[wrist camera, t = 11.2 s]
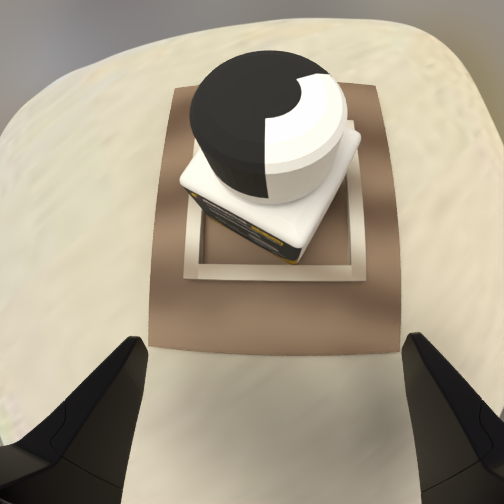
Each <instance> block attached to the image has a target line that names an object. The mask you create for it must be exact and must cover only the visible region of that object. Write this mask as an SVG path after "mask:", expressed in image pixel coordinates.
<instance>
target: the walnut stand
mask: <svg viewBox="0 0 504 504" xmlns="http://www.w3.org/2000/svg"><path fill="white" fill-rule="evenodd" d="M337 83H338V84H339V86H340V88H341V90H342V91H343V94H344V96H345V99H346V104H347V122H346V126H348V127H350V128H351V129H353V130H355V131H357V132H359V133H360V135H361V141H360V144H359V146H358V148H357V150H356V153H355V155H354V157H353V159H352V162H351V164H350V166H349V168H348V170H347V173H346V175H345V177H344V179H343V181H342V183H341V185H340V187H339V189H338V191H337V193H336V195H335V197H334V199H333V200H332V202H331V204H330V206H329V208H328V210H327V212H326V213H325V215H324V217H323V219H322V221H321V223H320V224H319V226H318V228H317V230H316V232H315V234H314V235H313V237H312V239H311V241H310V243H309V244H308V246H307V248H306V250H305V251H304V253H303V255H302V257H301V259H300V260H299V262H298V263H297V264H296V265H291V264H289V263H288V262H286V261H284V260H282V259H280V258H279V257H277V256H275V255H273V254H272V253H270V252H268V251H266V250H265V249H263V248H261V247H259V246H258V245H256V244H254V243H252V242H251V241H249V240H247V239H245V238H244V237H242V236H240V235H238V234H236V233H235V232H233V231H231V230H229V229H228V228H226V227H224V226H222V225H220V224H219V223H217V222H215V221H213V220H212V219H210V218H209V217H208V216H207V214H206V213H205V212H204V211H203V210H202V209H201V207H200V206H199V205H198V204H197V203H196V202H195V200H194V199H193V198H192V197H191V196H190V194H189V193H188V192H187V191H186V190H185V189H184V187H183V186H182V185H181V184H180V176H181V175H182V173H183V172H184V170H185V169H186V167H187V166H188V164H189V163H190V161H191V160H192V159H193V157H194V156H195V154H196V153H197V151H198V150H199V148H200V146H199V144H198V142H197V141H196V139H195V137H194V135H193V132H192V129H191V126H190V119H189V113H190V105H191V101H192V98H193V96H194V94H195V92H196V90H197V88H198V87H199V85H197V86H189V87H181V88H175V90H174V95H173V100H172V105H171V110H170V115H169V121H168V126H167V132H166V138H165V144H164V151H163V157H162V164H161V171H160V178H159V186H158V194H157V203H156V212H155V222H154V233H153V245H152V258H151V274H150V294H149V336H148V346H152V347H160V348H169V349H179V350H189V351H201V352H214V353H229V354H249V355H285V356H319V355H354V354H374V353H389V352H399V348H400V326H401V267H400V245H399V230H398V218H397V208H396V198H395V190H394V182H393V174H392V167H391V161H390V154H389V148H388V143H387V137H386V132H385V127H384V122H383V117H382V112H381V108H380V103H379V99H378V95H377V91H376V87H375V86H373V85H363V84H353V83H341V82H337Z"/></svg>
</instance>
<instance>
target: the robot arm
mask: <svg viewBox="0 0 504 504" xmlns="http://www.w3.org/2000/svg"><path fill="white" fill-rule="evenodd" d="M402 361H403V370H404V379H405V389H406V396H407V401H408V406H409V412H410V417H411V423H412V428H413V434H414V441H415V447H416V454H417V461H418V469H419V478H420V488H421V492H422V493H421V501H422V504H504V422H503V421H502V420H501V419H500V418H499V417H498V416H497V415H496V414H495V413H494V412H493V411H492V410H491V408H490V407H489V406H488V405H487V404H486V403H485V402H484V400H482V398H481V397H480V396H479V395H478V394H477V393H476V391H475V390H474V389H473V388H472V387H471V386H470V385H469V384H468V382H467V381H466V380H465V379H464V378H463V377H462V376H461V375H460V374H459V372H458V371H457V370H456V369H455V368H454V367H453V366H452V365H451V364H450V363H449V362H448V361H447V360H446V358H445V357H444V356H443V355H442V354H441V353H440V352H439V351H438V350H437V349H436V348H435V347H434V346H433V345H432V344H431V343H430V342H429V341H428V340H427V338H426V337H425V336H424V335H423V334H422V333H420V332H415V333H409V334H408V336H407V338H406V340H405V343H404V345H403V347H402ZM147 362H148V351H147V348H146V347H145V345H144V343H143V341H142V339H141V338H140V337H138V336H129V337H127V338H126V339H125V340H124V341H123V342H122V343H121V344H120V345H119V346H118V347H117V348H116V349H115V350H114V351H113V352H112V353H111V354H110V355H109V356H108V357H107V358H106V359H105V360H104V361H103V362H102V363H101V364H100V365H99V366H98V367H97V368H96V369H95V370H94V371H93V372H92V373H91V374H90V375H89V376H88V377H87V378H86V379H85V380H84V381H83V382H82V383H81V384H80V385H79V386H78V387H77V388H76V389H75V390H74V391H73V392H72V393H71V394H70V395H69V396H68V397H67V398H66V399H65V401H63V402H62V403H61V404H60V405H59V406H58V407H57V408H56V409H55V410H54V411H53V412H52V413H51V414H50V415H49V416H48V417H47V418H45V419H44V420H43V421H42V422H41V423H40V424H39V425H37V426H36V427H35V428H34V429H33V430H31V431H30V432H29V433H28V434H27V435H25V436H24V437H23V438H22V439H20V440H19V441H17V442H15V443H13V444H10V445H6V446H0V504H121V498H122V493H123V486H124V481H125V475H126V470H127V465H128V460H129V455H130V450H131V445H132V441H133V436H134V431H135V427H136V423H137V418H138V414H139V410H140V405H141V401H142V397H143V391H144V384H145V377H146V369H147Z"/></svg>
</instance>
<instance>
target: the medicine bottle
mask: <svg viewBox="0 0 504 504" xmlns="http://www.w3.org/2000/svg"><path fill="white" fill-rule="evenodd" d="M189 119H190V126H191V129H192V132H193V135H194V137H195V139H196V141H197V142H198V144H199V146H200V148H199V150H198V151H197V153H196V154H195V156H194V157H193V159H192V160H191V161H190V163H189V164H188V166H187V167H186V169H185V170H184V172H183V173H182V175H181V176H180V184H181V185H182V186H183V187H184V189H185V190H186V191H187V192H188V193H189V194H190V196H191V197H192V198H193V199H194V200H195V202H196V203H197V204H198V205H199V206H200V207H201V209H202V210H203V211H204V212H205V213H206V214H207V216H208V217H209V218H210V219H212V220H213V221H215V222H217V223H219V224H220V225H222V226H224V227H226V228H228V229H229V230H231V231H233V232H235V233H236V234H238V235H240V236H242V237H244V238H245V239H247V240H249V241H251V242H252V243H254V244H256V245H258V246H259V247H261V248H263V249H265V250H266V251H268V252H270V253H272V254H273V255H275V256H277V257H279V258H280V259H282V260H284V261H286V262H288V263H289V264H291V265H296V264H297V263H298V262H299V260H300V259H301V257H302V255H303V253H304V251H305V250H306V248H307V246H308V244H309V243H310V241H311V239H312V237H313V235H314V234H315V232H316V230H317V228H318V226H319V224H320V223H321V221H322V219H323V217H324V215H325V213H326V212H327V210H328V208H329V206H330V204H331V202H332V200H333V199H334V197H335V195H336V193H337V191H338V189H339V187H340V185H341V183H342V181H343V179H344V177H345V175H346V173H347V170H348V168H349V166H350V164H351V162H352V159H353V157H354V155H355V153H356V150H357V148H358V146H359V144H360V141H361V135H360V133H359V132H357V131H355V130H353V129H351V128H350V127H348V126H346V122H347V104H346V99H345V96H344V94H343V91H342V90H341V88H340V86H339V84H338V83H337V82H336V81H335V79H334V78H333V77H332V76H331V75H330V74H329V73H328V72H327V71H326V70H324V69H323V68H322V67H320V66H319V65H318V64H316V63H314V62H313V61H311V60H309V59H307V58H305V57H302V56H300V55H296V54H293V53H289V52H283V51H256V52H250V53H246V54H243V55H239V56H236V57H234V58H232V59H230V60H228V61H226V62H224V63H222V64H221V65H219V66H218V67H217V68H215V69H214V70H213V71H212V72H211V73H210V74H209V75H208V76H207V77H206V78H205V79H204V80H203V81H202V83H201V84H200V85H199V87H198V88H197V90H196V92H195V94H194V96H193V98H192V101H191V105H190V113H189Z"/></svg>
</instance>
